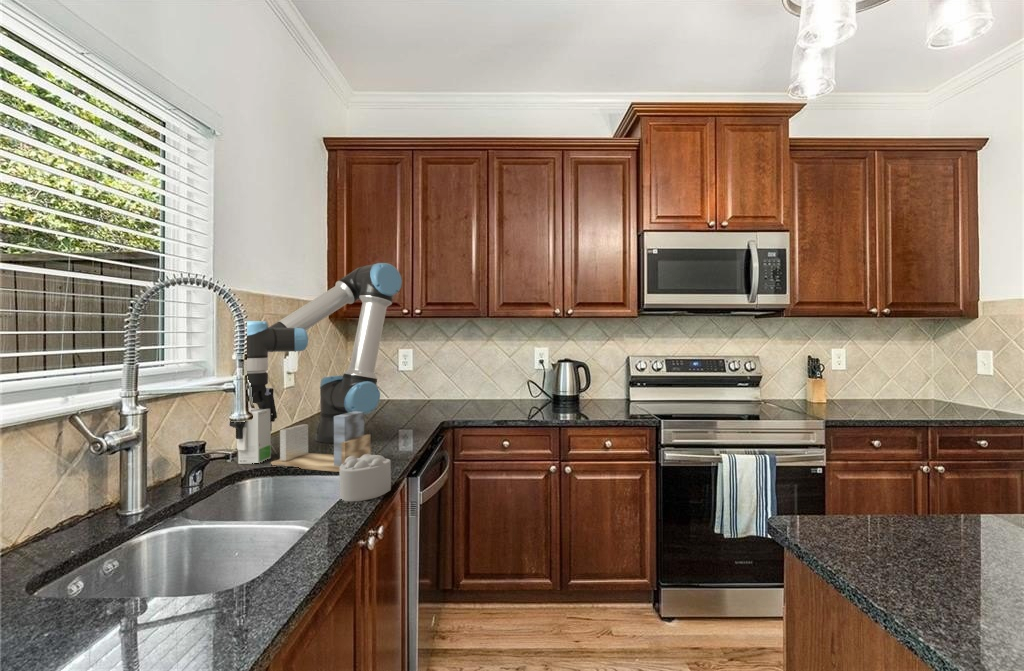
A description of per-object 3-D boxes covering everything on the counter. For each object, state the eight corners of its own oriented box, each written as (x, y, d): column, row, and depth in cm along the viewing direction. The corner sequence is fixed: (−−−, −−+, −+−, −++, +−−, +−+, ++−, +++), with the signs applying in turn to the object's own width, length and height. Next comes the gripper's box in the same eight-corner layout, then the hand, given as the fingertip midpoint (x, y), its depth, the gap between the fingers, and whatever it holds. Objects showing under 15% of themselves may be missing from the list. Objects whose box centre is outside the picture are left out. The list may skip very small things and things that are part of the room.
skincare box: (258, 464, 155) (258, 411, 155) (236, 464, 156) (235, 411, 155) (271, 457, 164) (271, 407, 164) (250, 457, 164) (250, 407, 164)
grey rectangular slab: (302, 453, 164) (302, 424, 164) (308, 453, 164) (308, 424, 164) (280, 460, 155) (280, 429, 155) (285, 461, 154) (285, 430, 154)
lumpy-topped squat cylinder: (396, 487, 132) (396, 453, 132) (365, 503, 120) (365, 465, 120) (361, 484, 136) (361, 450, 136) (327, 499, 123) (327, 462, 123)
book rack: (300, 456, 166) (300, 407, 166) (370, 461, 159) (370, 411, 159) (270, 466, 154) (270, 414, 154) (345, 472, 147) (345, 417, 147)
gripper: (270, 369, 171) (270, 438, 171) (214, 374, 150) (214, 453, 150) (289, 369, 169) (289, 439, 169) (235, 375, 148) (236, 455, 148)
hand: (254, 446), depth 160 cm, fingers closed on skincare box, 9 cm apart
